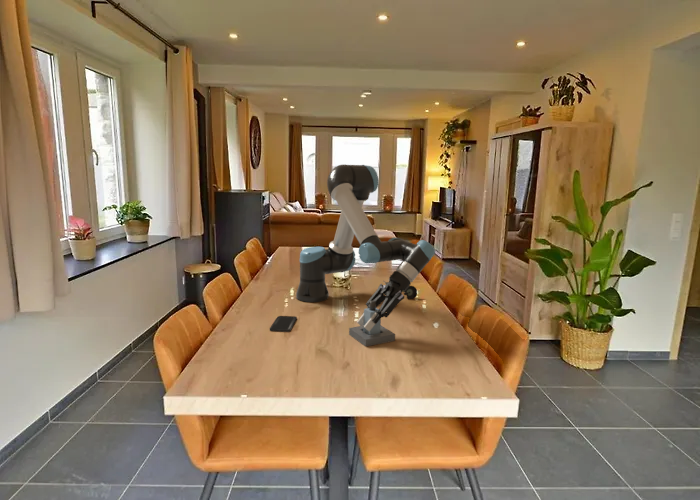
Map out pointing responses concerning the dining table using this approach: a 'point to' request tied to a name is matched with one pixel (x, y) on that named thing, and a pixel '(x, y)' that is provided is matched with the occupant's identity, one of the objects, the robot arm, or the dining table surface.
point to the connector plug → (368, 314)
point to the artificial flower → (409, 291)
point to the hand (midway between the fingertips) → (362, 326)
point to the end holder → (371, 336)
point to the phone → (283, 323)
